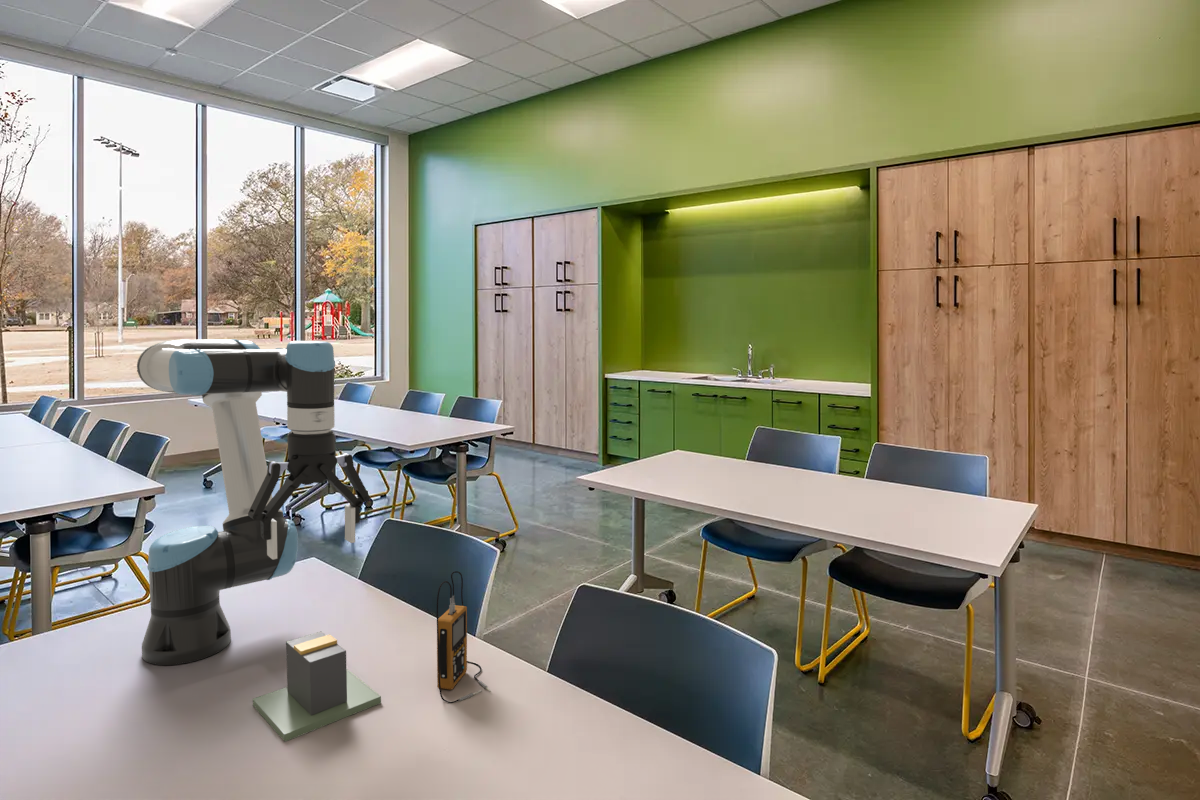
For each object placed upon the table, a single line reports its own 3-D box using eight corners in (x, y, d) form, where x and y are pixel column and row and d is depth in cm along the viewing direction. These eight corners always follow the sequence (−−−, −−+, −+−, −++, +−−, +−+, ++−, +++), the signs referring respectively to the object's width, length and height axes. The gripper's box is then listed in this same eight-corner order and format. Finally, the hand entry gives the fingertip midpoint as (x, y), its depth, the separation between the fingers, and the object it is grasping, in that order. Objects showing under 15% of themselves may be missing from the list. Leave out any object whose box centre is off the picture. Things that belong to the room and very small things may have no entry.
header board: (252, 705, 114) (252, 678, 114) (344, 673, 125) (344, 648, 125) (284, 741, 104) (283, 712, 104) (381, 702, 116) (380, 676, 115)
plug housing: (287, 691, 116) (285, 638, 115) (322, 679, 121) (321, 627, 120) (310, 715, 109) (309, 658, 108) (347, 701, 114) (346, 646, 113)
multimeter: (482, 708, 115) (482, 595, 113) (427, 701, 117) (426, 589, 115) (510, 667, 129) (510, 565, 127) (461, 661, 131) (461, 561, 129)
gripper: (239, 440, 105) (243, 571, 108) (388, 427, 123) (388, 540, 125) (225, 433, 111) (228, 557, 113) (370, 421, 128) (370, 529, 131)
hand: (312, 548), depth 119 cm, fingers open, 13 cm apart
